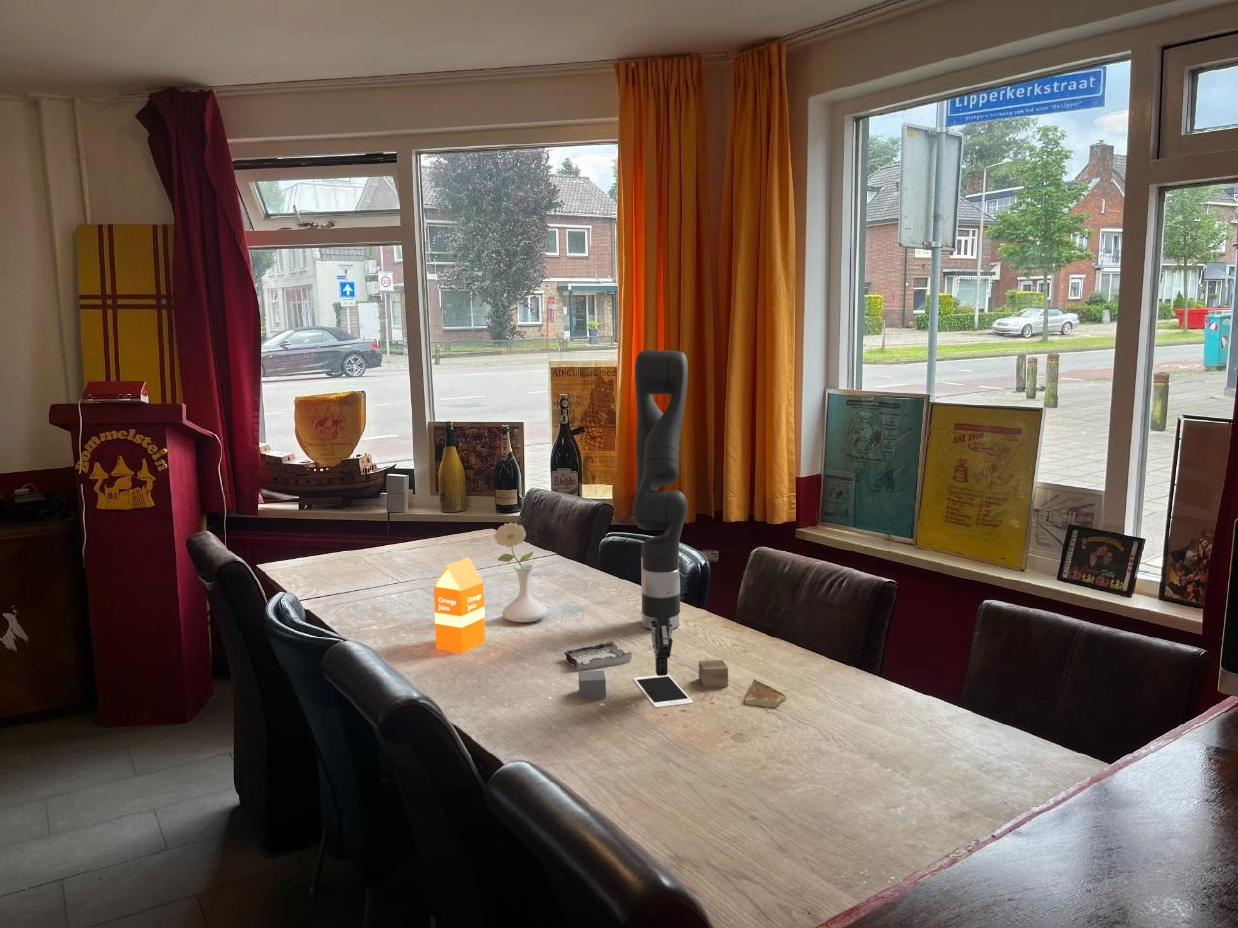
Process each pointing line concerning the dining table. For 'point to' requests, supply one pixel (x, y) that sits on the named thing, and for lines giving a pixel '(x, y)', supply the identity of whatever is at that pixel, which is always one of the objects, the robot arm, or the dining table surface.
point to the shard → (763, 695)
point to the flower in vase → (524, 604)
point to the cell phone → (662, 691)
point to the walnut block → (713, 673)
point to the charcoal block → (592, 685)
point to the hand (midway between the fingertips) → (661, 674)
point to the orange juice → (459, 608)
